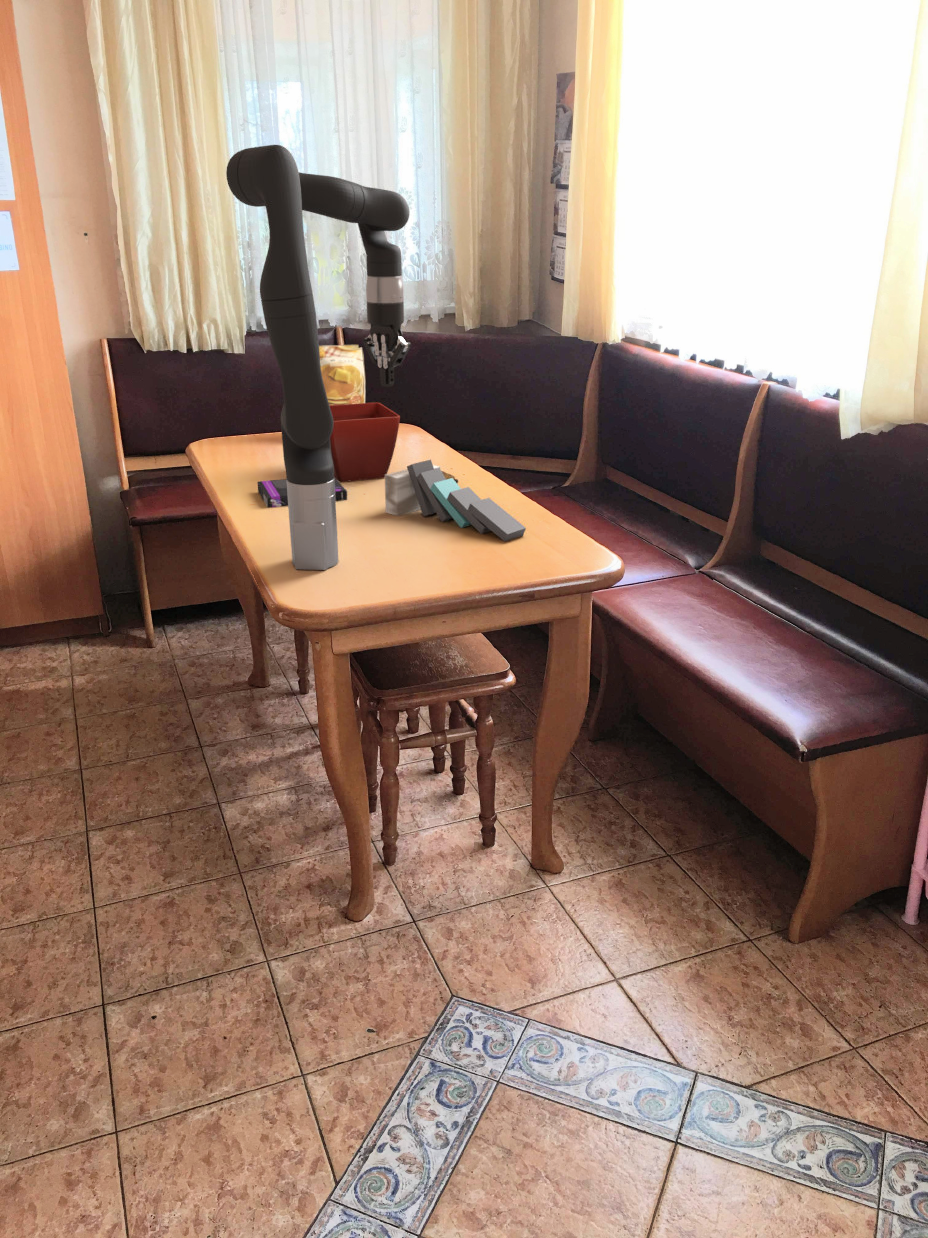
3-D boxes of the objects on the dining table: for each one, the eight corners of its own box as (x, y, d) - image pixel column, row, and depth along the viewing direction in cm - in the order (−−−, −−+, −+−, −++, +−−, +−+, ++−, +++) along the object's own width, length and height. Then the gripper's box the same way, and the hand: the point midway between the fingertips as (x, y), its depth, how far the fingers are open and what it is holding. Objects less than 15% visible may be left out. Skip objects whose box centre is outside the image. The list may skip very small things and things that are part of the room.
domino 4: (502, 521, 214) (468, 486, 218) (484, 527, 210) (449, 492, 214) (499, 527, 215) (465, 493, 220) (481, 533, 211) (446, 498, 216)
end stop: (440, 503, 232) (440, 466, 228) (397, 516, 223) (396, 477, 219) (428, 500, 234) (428, 463, 231) (385, 512, 225) (384, 474, 222)
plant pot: (402, 480, 251) (401, 415, 244) (330, 487, 244) (327, 421, 238) (380, 462, 267) (379, 401, 260) (313, 469, 261) (309, 406, 254)
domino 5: (526, 527, 209) (488, 497, 215) (507, 534, 205) (470, 503, 211) (523, 535, 210) (486, 504, 216) (504, 541, 207) (467, 510, 212)
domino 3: (461, 528, 215) (430, 488, 218) (479, 522, 219) (448, 483, 222) (464, 522, 214) (433, 482, 217) (483, 516, 217) (452, 477, 221)
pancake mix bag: (304, 441, 290) (298, 345, 279) (365, 436, 296) (362, 342, 285) (309, 446, 284) (303, 348, 273) (371, 441, 291) (368, 345, 279)
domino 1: (447, 508, 225) (430, 459, 224) (428, 514, 221) (412, 464, 220) (441, 510, 226) (425, 461, 226) (423, 516, 223) (406, 466, 222)
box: (267, 511, 229) (348, 502, 235) (266, 497, 227) (347, 488, 233) (258, 494, 241) (335, 486, 246) (256, 481, 239) (334, 472, 245)
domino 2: (464, 512, 221) (439, 467, 223) (446, 517, 217) (420, 472, 219) (460, 516, 223) (435, 472, 224) (441, 522, 219) (416, 477, 220)
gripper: (421, 300, 194) (422, 387, 201) (377, 295, 203) (379, 379, 210) (393, 303, 189) (395, 392, 196) (349, 298, 198) (353, 384, 205)
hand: (387, 385), depth 203 cm, fingers closed
